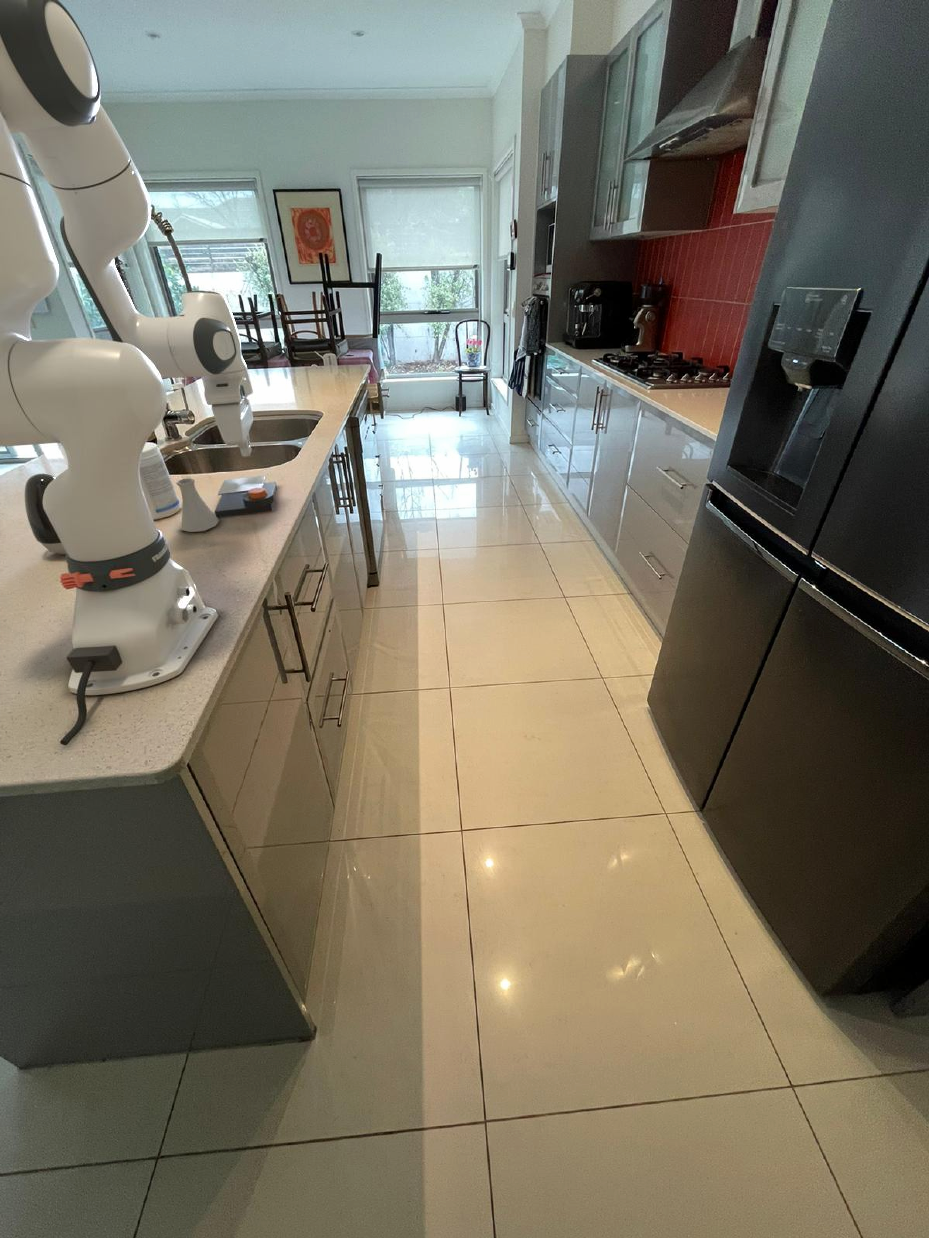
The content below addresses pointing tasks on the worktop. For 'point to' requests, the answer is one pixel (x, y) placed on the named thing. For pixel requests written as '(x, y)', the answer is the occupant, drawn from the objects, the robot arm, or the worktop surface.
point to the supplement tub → (157, 483)
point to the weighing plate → (241, 485)
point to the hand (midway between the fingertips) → (247, 454)
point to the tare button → (257, 493)
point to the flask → (194, 509)
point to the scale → (246, 502)
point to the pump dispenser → (41, 513)
